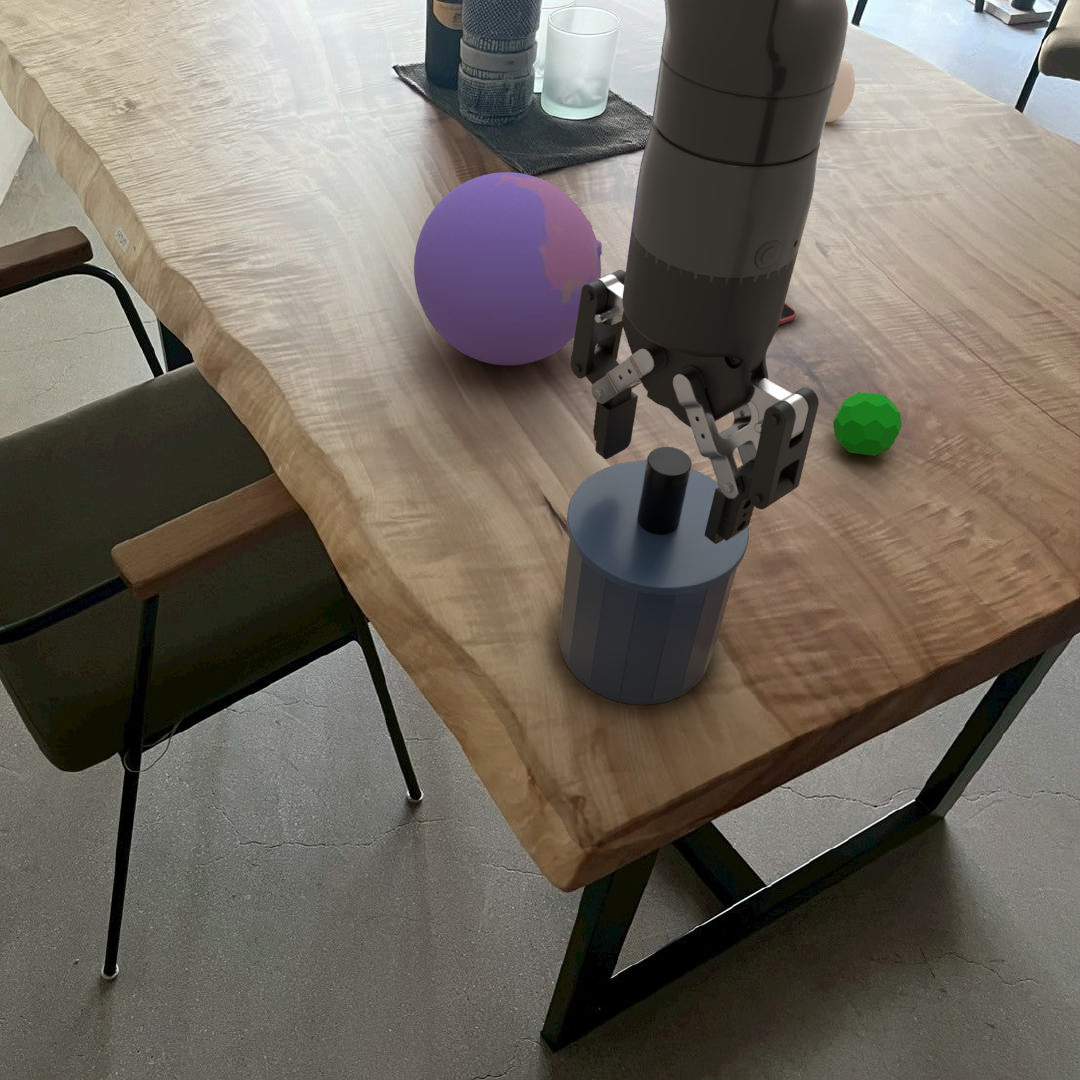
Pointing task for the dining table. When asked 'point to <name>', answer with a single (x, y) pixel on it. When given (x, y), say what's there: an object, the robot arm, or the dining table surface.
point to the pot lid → (652, 526)
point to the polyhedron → (867, 423)
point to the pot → (637, 635)
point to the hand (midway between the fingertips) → (664, 490)
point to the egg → (842, 91)
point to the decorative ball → (505, 267)
